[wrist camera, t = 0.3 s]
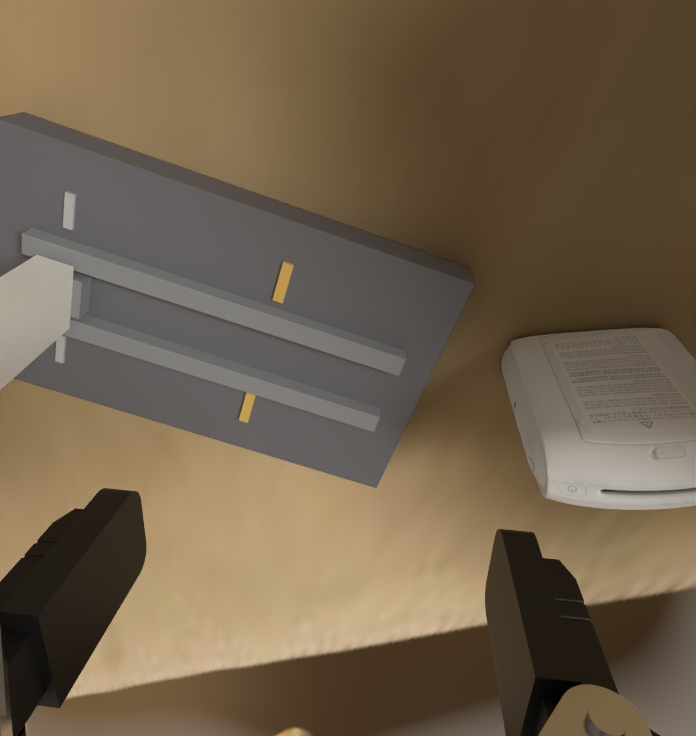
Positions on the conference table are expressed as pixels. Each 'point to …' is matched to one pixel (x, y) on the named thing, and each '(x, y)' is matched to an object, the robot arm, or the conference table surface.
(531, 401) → the photo printer
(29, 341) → the fader
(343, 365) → the grey slider track board
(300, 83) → the conference table surface
